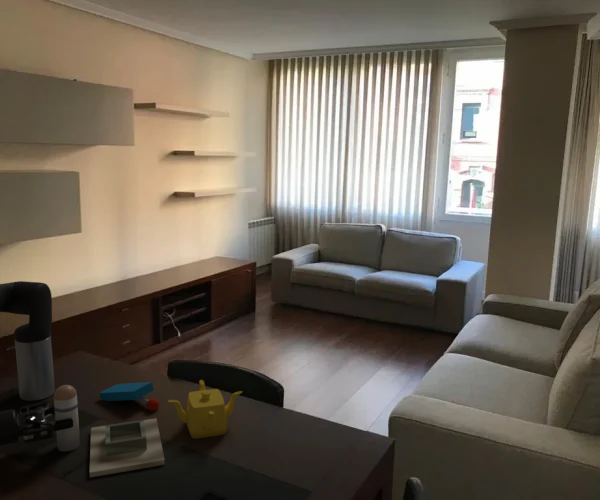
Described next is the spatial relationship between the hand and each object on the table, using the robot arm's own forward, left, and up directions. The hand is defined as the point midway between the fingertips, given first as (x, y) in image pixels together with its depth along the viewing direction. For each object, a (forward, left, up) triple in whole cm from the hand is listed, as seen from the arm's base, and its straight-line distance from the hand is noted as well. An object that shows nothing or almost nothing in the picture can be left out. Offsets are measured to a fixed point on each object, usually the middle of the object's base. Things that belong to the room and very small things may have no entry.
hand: (70, 414), depth 130 cm
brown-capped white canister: (0, -1, -8) cm, 8 cm away
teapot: (+1, +32, -8) cm, 33 cm away
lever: (-18, +15, -9) cm, 25 cm away
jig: (+5, +12, -8) cm, 15 cm away
